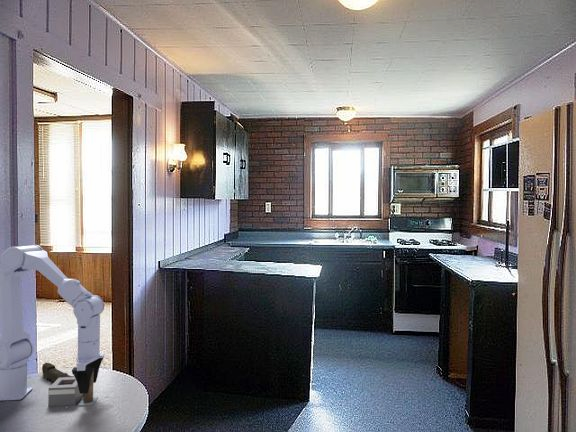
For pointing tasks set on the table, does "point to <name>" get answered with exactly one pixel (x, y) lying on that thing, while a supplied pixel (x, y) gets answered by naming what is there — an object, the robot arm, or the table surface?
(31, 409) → the table surface
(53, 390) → the gray hollow box
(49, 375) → the brown rough rod
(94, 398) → the pad
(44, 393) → the table surface
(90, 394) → the wooden rod
